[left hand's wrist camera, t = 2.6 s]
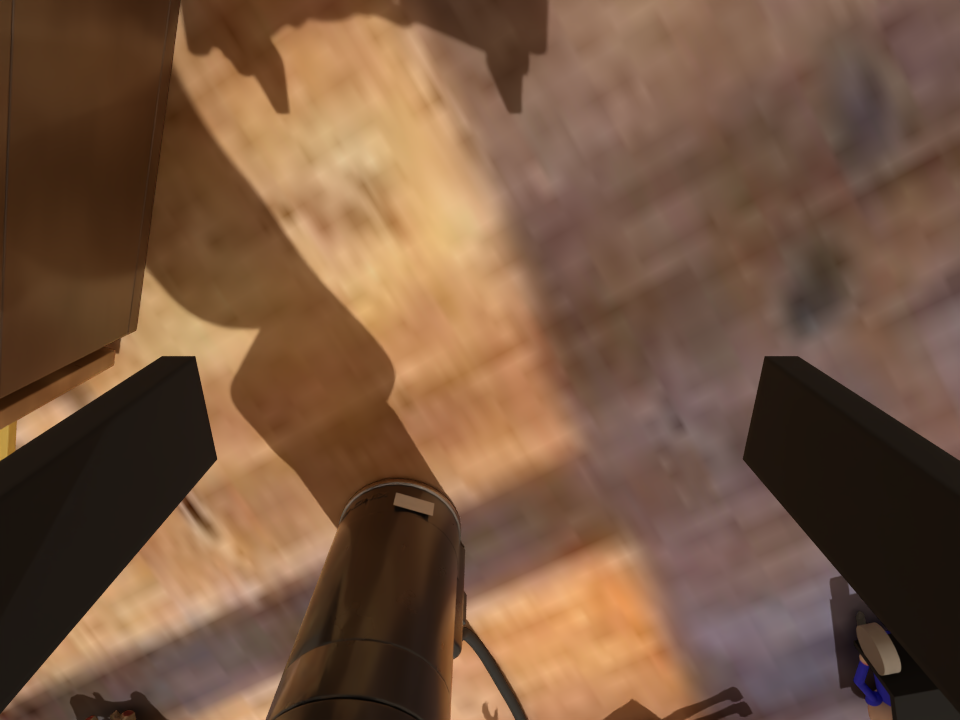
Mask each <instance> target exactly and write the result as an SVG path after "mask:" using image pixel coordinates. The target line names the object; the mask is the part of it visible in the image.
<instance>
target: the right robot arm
mask: <svg viewBox="0 0 960 720" xmlns="http://www.w3.org/2000/svg"><path fill="white" fill-rule="evenodd" d="M460 540H461V524H460V520H459V516H458V514H457V512H456V510H455V508H454V506H453V505H452V504H451V502H450V501H449V500H448V499H447V498H446V497H445V496H444V495H443V494H442V493H440V492H439V491H438V490H436V489H434V488H433V487H431V486H429V485H427V484H424V483H421V482H418V481H414V480H409V479H386V480H381V481H378V482H374V483H372V484H370V485H368V486H366V487H364V488H362V489H361V490H359V491H358V492H357V493H356V494H354V495H353V496H352V497H351V499H350V500H349V501H348V503H347V504H346V506H345V508H344V510H343V513H342V515H341V518H340V522H339V527H338V530H337V532H336V535H335V538H334V540H333V543H332V545H331V548H330V550H329V553H328V556H327V558H326V561H325V564H324V566H323V569H322V571H321V574H320V577H319V579H318V582H317V585H316V587H315V590H314V593H313V595H312V598H311V601H310V603H309V606H308V609H307V611H306V614H305V617H304V619H303V622H302V624H301V627H300V630H299V632H298V635H297V638H296V640H295V643H294V646H293V648H292V651H291V654H290V656H289V659H288V662H287V664H286V667H285V669H284V672H283V675H282V678H281V681H280V683H279V686H278V688H277V691H276V694H275V696H274V699H273V702H272V704H271V707H270V710H269V712H268V715H267V718H266V720H450V717H451V692H452V672H453V659H455V658H456V657H458V656H459V654H460V652H461V649H462V641H463V640H465V641H466V642H467V643H468V644H469V645H470V646H471V647H472V648H473V650H474V651H475V652H476V653H477V655H478V656H479V658H480V659H481V661H482V662H483V664H484V666H485V667H486V669H487V671H488V672H489V674H490V676H491V677H492V679H493V681H494V683H495V684H496V686H497V688H498V690H499V691H500V693H501V695H502V696H503V698H504V700H505V701H506V703H507V705H508V707H509V708H510V710H511V712H512V714H513V716H514V718H515V720H526V718H525V715H524V713H523V711H522V709H521V707H520V705H519V703H518V702H517V700H516V698H515V696H514V694H513V693H512V691H511V689H510V687H509V686H508V684H507V682H506V681H505V679H504V677H503V675H502V674H501V672H500V670H499V668H498V667H497V665H496V663H495V662H494V660H493V658H492V657H491V655H490V653H489V652H488V650H487V649H486V647H485V646H484V645H483V643H482V642H481V641H480V639H479V638H478V637H477V636H476V635H475V634H474V633H473V632H472V631H470V630H469V629H467V628H466V627H463V625H465V624H466V596H467V595H466V593H465V592H464V568H465V549H464V548H463V547H462V545H461V544H460Z"/></svg>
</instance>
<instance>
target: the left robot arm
mask: <svg viewBox="0 0 960 720" xmlns="http://www.w3.org/2000/svg"><path fill="white" fill-rule="evenodd" d="M216 460H217V456H216V451H215V446H214V442H213V437H212V432H211V428H210V423H209V418H208V414H207V409H206V404H205V400H204V395H203V390H202V386H201V381H200V376H199V372H198V367H197V362H196V358H195V356H162V357H160V358H159V359H157V360H155V361H154V362H152V363H151V364H149V365H148V366H146V367H145V368H143V369H142V370H140V371H138V372H137V373H135V374H134V375H132V376H131V377H129V378H128V379H126V380H125V381H123V382H121V383H120V384H118V385H117V386H115V387H114V388H112V389H111V390H109V391H108V392H106V393H104V394H103V395H101V396H100V397H98V398H97V399H95V400H94V401H92V402H90V403H89V404H87V405H86V406H84V407H83V408H81V409H80V410H78V411H77V412H75V413H73V414H72V415H70V416H69V417H67V418H66V419H64V420H63V421H61V422H60V423H58V424H56V425H55V426H53V427H52V428H50V429H49V430H47V431H46V432H44V433H43V434H41V435H39V436H38V437H36V438H35V439H33V440H32V441H30V442H29V443H27V444H25V445H24V446H22V447H21V448H19V449H18V450H16V451H15V452H13V453H12V454H10V455H8V456H7V457H5V458H4V459H2V460H1V461H0V714H1V712H2V711H3V710H4V709H5V708H6V707H7V705H8V704H9V703H10V702H11V701H12V699H13V698H14V697H15V696H16V695H17V694H18V692H19V691H20V690H21V689H22V688H23V687H24V685H25V684H26V683H27V682H28V681H29V680H30V678H31V677H32V676H33V675H34V674H35V672H36V671H37V670H38V669H39V668H40V667H41V665H42V664H43V663H44V662H45V661H46V660H47V658H48V657H49V656H50V655H51V654H52V653H53V651H54V650H55V649H56V648H57V647H58V645H59V644H60V643H61V642H62V641H63V640H64V638H65V637H66V636H67V635H68V634H69V633H70V631H71V630H72V629H73V628H74V627H75V626H76V624H77V623H78V622H79V621H80V620H81V619H82V617H83V616H84V615H85V614H86V613H87V611H88V610H89V609H90V608H91V607H92V606H93V604H94V603H95V602H96V601H97V600H98V599H99V597H100V596H101V595H102V594H103V593H104V592H105V590H106V589H107V588H108V587H109V586H110V584H111V583H112V582H113V581H114V580H115V579H116V577H117V576H118V575H119V574H120V573H121V572H122V570H123V569H124V568H125V567H126V566H127V565H128V563H129V562H130V561H131V560H132V559H133V557H134V556H135V555H136V554H137V553H138V552H139V550H140V549H141V548H142V547H143V546H144V545H145V543H146V542H147V541H148V540H149V539H150V538H151V536H152V535H153V534H154V533H155V532H156V530H157V529H158V528H159V527H160V526H161V525H162V523H163V522H164V521H165V520H166V519H167V518H168V516H169V515H170V514H171V513H172V512H173V511H174V509H175V508H176V507H177V506H178V505H179V503H180V502H181V501H182V500H183V499H184V498H185V496H186V495H187V494H188V493H189V492H190V491H191V489H192V488H193V487H194V486H195V485H196V484H197V482H198V481H199V480H200V479H201V478H202V476H203V475H204V474H205V473H206V472H207V471H208V469H209V468H210V467H211V466H212V465H213V464H214V462H215V461H216ZM743 460H744V461H745V462H746V464H747V465H748V466H749V467H750V468H751V469H752V471H753V472H754V473H755V474H756V475H757V476H758V478H759V479H760V480H761V481H762V482H763V484H764V485H765V486H766V487H767V488H768V489H769V491H770V492H771V493H772V494H773V495H774V496H775V498H776V499H777V500H778V501H779V502H780V503H781V505H782V506H783V507H784V508H785V509H786V511H787V512H788V513H789V514H790V515H791V516H792V518H793V519H794V520H795V521H796V522H797V523H798V525H799V526H800V527H801V528H802V529H803V530H804V532H805V533H806V534H807V535H808V536H809V538H810V539H811V540H812V541H813V542H814V543H815V545H816V546H817V547H818V548H819V549H820V550H821V552H822V553H823V554H824V555H825V556H826V557H827V559H828V560H829V561H830V562H831V563H832V565H833V566H834V567H835V568H836V569H837V570H838V572H839V573H840V574H841V575H842V576H843V577H844V579H845V580H846V581H847V582H848V583H849V584H850V586H851V587H852V588H853V589H854V590H855V592H856V593H857V594H858V595H859V596H860V597H861V599H862V600H863V601H864V602H865V603H866V604H867V606H868V607H869V608H870V609H871V610H872V611H873V613H874V614H875V615H876V616H877V617H878V619H879V620H880V621H881V622H882V623H883V624H884V626H885V627H886V628H887V629H888V630H889V631H890V633H891V634H892V635H893V636H894V637H895V638H896V640H897V641H898V642H899V643H900V644H901V646H902V647H903V648H904V649H905V650H906V651H907V653H908V654H909V655H910V656H911V657H912V658H913V660H914V661H915V662H916V663H917V664H918V665H919V667H920V668H921V669H922V670H923V671H924V672H925V674H926V675H927V676H928V677H929V678H930V680H931V681H932V682H933V683H934V684H935V685H936V687H937V688H938V689H939V690H940V691H941V692H942V694H943V695H944V696H945V697H946V698H947V699H948V701H949V702H950V703H951V704H952V705H953V707H954V708H955V709H956V710H957V711H958V712H959V714H960V461H959V460H958V459H956V458H955V457H953V456H952V455H950V454H948V453H947V452H945V451H944V450H942V449H941V448H939V447H938V446H936V445H934V444H933V443H931V442H930V441H928V440H927V439H925V438H924V437H922V436H921V435H919V434H917V433H916V432H914V431H913V430H911V429H910V428H908V427H907V426H905V425H904V424H902V423H900V422H899V421H897V420H896V419H894V418H893V417H891V416H890V415H888V414H887V413H885V412H883V411H882V410H880V409H879V408H877V407H876V406H874V405H873V404H871V403H870V402H868V401H866V400H865V399H863V398H862V397H860V396H859V395H857V394H856V393H854V392H852V391H851V390H849V389H848V388H846V387H845V386H843V385H842V384H840V383H839V382H837V381H835V380H834V379H832V378H831V377H829V376H828V375H826V374H825V373H823V372H822V371H820V370H818V369H817V368H815V367H814V366H812V365H811V364H809V363H808V362H806V361H805V360H803V359H801V358H800V357H798V356H765V358H764V362H763V367H762V372H761V376H760V381H759V386H758V390H757V395H756V400H755V404H754V409H753V414H752V418H751V423H750V428H749V432H748V437H747V442H746V446H745V451H744V456H743Z"/></svg>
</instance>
